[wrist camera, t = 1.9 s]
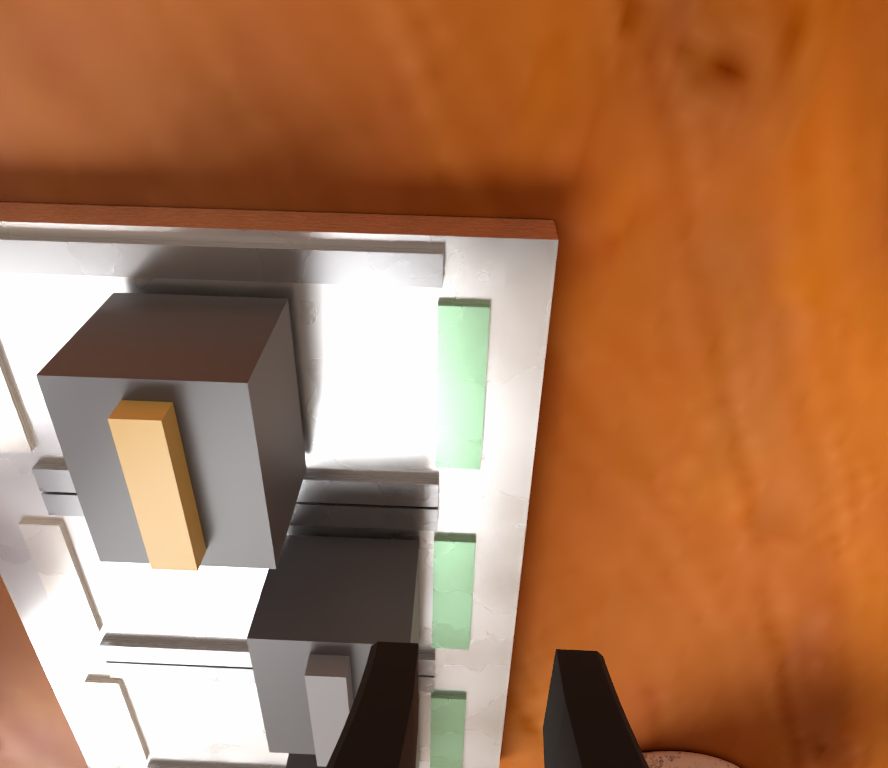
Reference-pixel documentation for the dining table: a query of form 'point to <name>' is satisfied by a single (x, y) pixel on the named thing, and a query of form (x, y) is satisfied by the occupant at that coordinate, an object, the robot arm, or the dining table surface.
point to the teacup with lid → (684, 760)
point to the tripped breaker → (181, 428)
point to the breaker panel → (326, 451)
